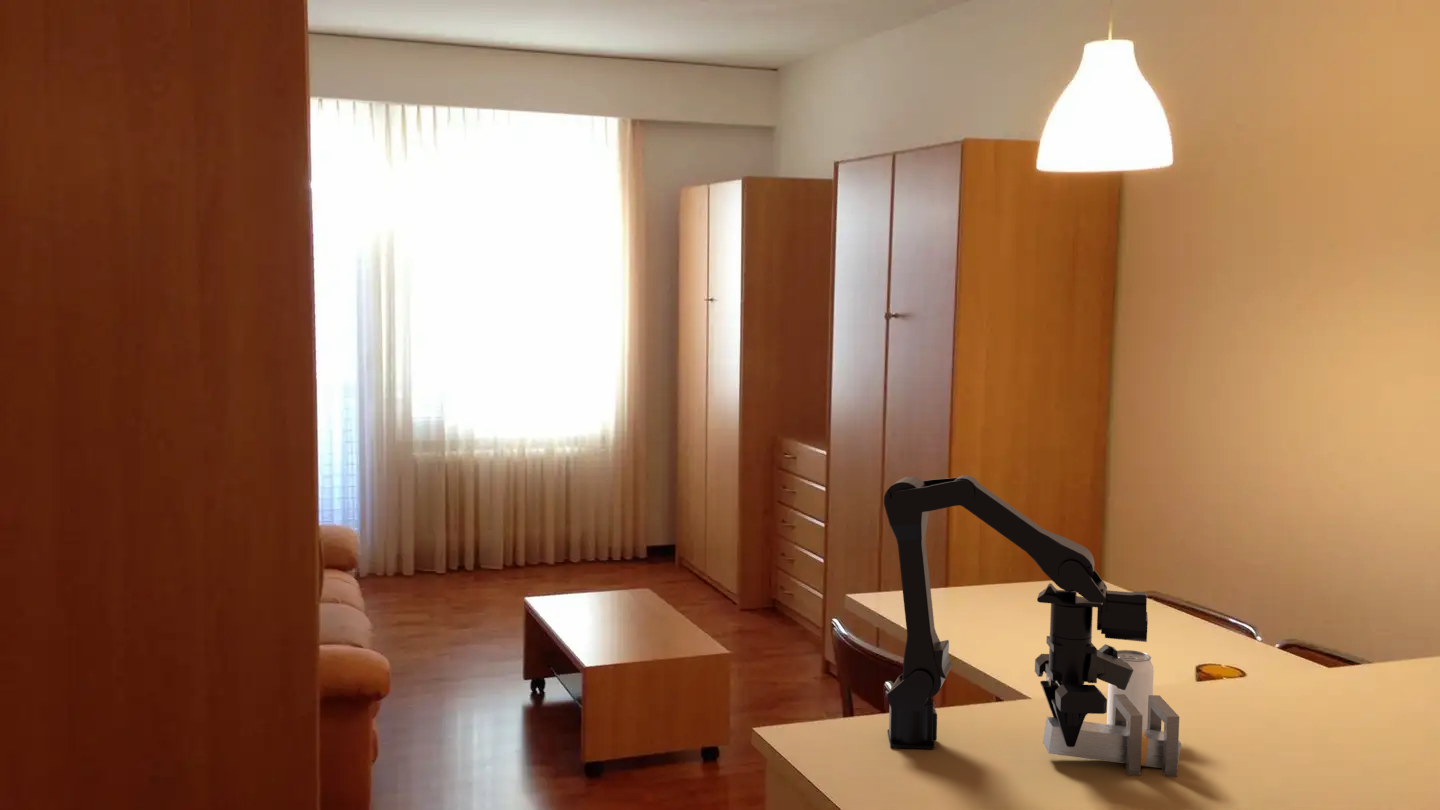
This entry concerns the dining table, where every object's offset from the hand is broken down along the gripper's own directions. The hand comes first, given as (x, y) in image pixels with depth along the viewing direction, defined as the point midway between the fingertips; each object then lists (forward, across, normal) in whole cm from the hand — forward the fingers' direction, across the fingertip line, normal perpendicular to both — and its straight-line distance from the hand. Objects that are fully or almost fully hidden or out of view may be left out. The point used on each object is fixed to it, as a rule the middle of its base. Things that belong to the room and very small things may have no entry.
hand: (1067, 740), depth 170 cm
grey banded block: (+2, 0, -6) cm, 6 cm away
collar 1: (+3, 0, -8) cm, 9 cm away
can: (+3, +13, -12) cm, 18 cm away
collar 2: (+3, 0, -13) cm, 14 cm away
